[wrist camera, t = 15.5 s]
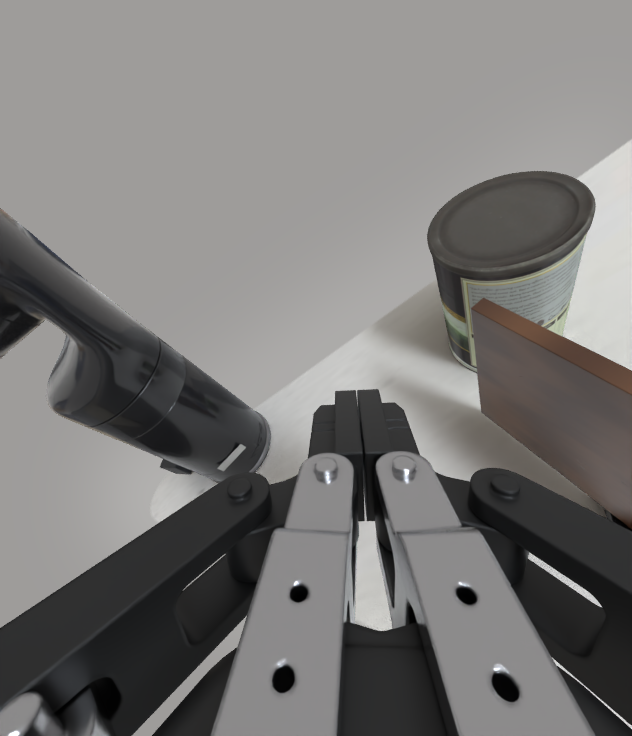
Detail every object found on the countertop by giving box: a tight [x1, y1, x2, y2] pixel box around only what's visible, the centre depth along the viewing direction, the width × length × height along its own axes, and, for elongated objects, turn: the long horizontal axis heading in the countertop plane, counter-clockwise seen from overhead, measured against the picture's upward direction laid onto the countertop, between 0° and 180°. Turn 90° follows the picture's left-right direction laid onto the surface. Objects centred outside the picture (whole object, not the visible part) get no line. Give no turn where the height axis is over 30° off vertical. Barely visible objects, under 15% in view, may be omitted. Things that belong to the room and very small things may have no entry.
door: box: [471, 298, 632, 529], centre depth 20 cm, size 13×1×14 cm, turn 32°
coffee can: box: [427, 171, 595, 372], centre depth 29 cm, size 10×10×14 cm
